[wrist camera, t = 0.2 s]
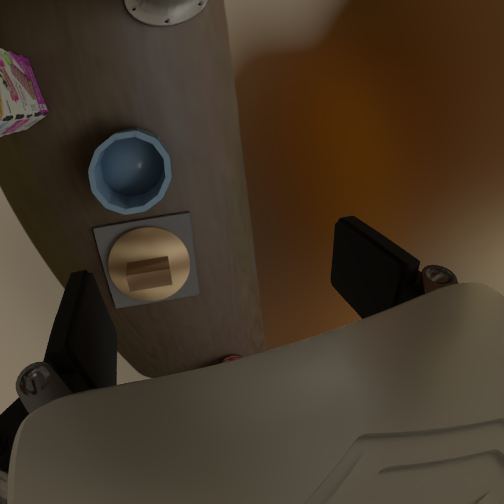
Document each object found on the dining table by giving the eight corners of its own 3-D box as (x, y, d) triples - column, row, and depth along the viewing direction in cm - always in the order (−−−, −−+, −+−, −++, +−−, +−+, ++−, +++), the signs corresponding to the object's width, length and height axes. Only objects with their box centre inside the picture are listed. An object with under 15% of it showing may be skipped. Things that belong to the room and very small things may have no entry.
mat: (93, 227, 43) (93, 228, 42) (189, 211, 47) (190, 212, 47) (116, 306, 51) (116, 308, 50) (199, 292, 55) (199, 294, 54)
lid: (100, 233, 43) (95, 247, 39) (184, 219, 47) (188, 232, 43) (119, 303, 50) (118, 321, 46) (193, 290, 54) (198, 307, 50)
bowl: (93, 135, 36) (83, 140, 31) (165, 123, 39) (167, 126, 34) (103, 204, 42) (97, 219, 36) (171, 193, 45) (174, 206, 39)
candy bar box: (52, 112, 32) (3, 120, 19) (26, 130, 32) (-28, 149, 18) (29, 54, 26) (-23, 39, 13) (5, 73, 26) (-53, 69, 12)
